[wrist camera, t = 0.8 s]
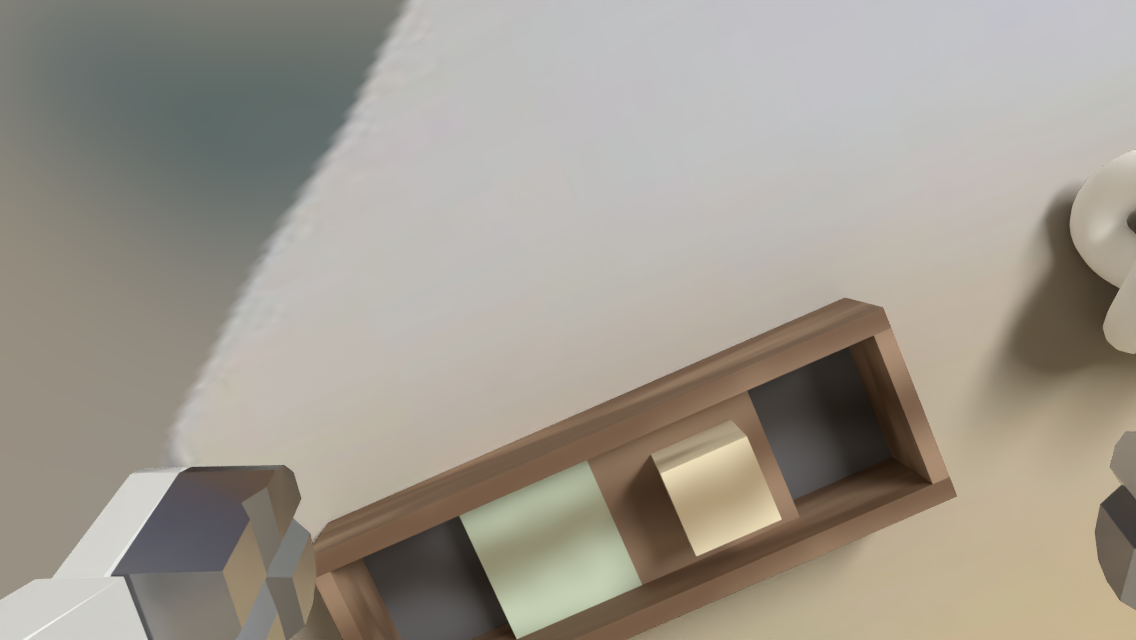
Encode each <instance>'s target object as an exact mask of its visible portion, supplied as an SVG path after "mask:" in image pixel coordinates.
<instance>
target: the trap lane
mask: <svg viewBox="0 0 1136 640" xmlns="http://www.w3.org/2000/svg"><path fill="white" fill-rule="evenodd" d="M728 420H732V421H733V422H734V423H735V424H736V425H737V426H738V428H739V429H740V430H741V431H742V432H743V433H744V434H745V435H746V436H747V438H748V440H749V442H750V445H751V447H752V450H753V452H754V454H755V457H756V459H757V461H758V464H759V466H760V469H761V471H762V473H763V476H764V478H765V481H766V483H767V485H768V488H769V490H770V492H771V495H772V497H773V500H774V502H775V504H776V507H777V509H778V511H779V514H780V516H781V519H782V520H780V521H777V522H775V523H773V524H770V525H768V526H766V527H764V528H761V529H759V530H757V531H754V532H752V533H750V534H747V535H745V536H743V537H740V538H738V539H736V540H733V541H731V542H729V543H727V544H724V545H722V546H720V547H717V548H715V549H713V550H710V551H708V552H706V553H703V554H701V555H699V556H696V555H695V553H694V551H693V548H692V546H691V544H690V542H689V540H688V538H687V536H686V534H685V532H684V529H683V527H682V525H681V523H680V520H679V518H678V516H677V513H676V511H675V509H674V506H673V504H672V502H671V500H670V497H669V495H668V493H667V490H666V488H665V486H664V483H663V481H662V479H661V477H660V474H659V472H658V470H657V467H656V465H655V463H654V460H653V458H652V456H651V454H652V453H655V452H657V451H659V450H662V449H664V448H666V447H669V446H671V445H673V444H676V443H678V442H680V441H682V440H685V439H687V438H689V437H692V436H694V435H696V434H699V433H701V432H703V431H705V430H708V429H710V428H712V427H715V426H717V425H719V424H722V423H724V422H726V421H728ZM954 497H957V494H956V492H955V489H954V487H953V484H952V482H951V479H950V477H949V474H948V472H947V469H946V466H945V464H944V461H943V459H942V456H941V454H940V451H939V449H938V446H937V444H936V441H935V438H934V436H933V433H932V431H931V428H930V426H929V423H928V421H927V418H926V416H925V413H924V410H923V408H922V405H921V403H920V400H919V398H918V395H917V393H916V390H915V388H914V385H913V382H912V380H911V377H910V375H909V372H908V370H907V367H906V365H905V362H904V360H903V357H902V354H901V352H900V349H899V347H898V344H897V342H896V339H895V337H894V334H893V332H892V329H891V326H890V324H889V321H888V319H887V316H886V314H885V311H884V309H883V307H879V306H875V305H871V304H867V303H864V302H860V301H856V300H852V299H848V298H843V299H841V300H839V301H836V302H834V303H832V304H830V305H827V306H825V307H823V308H820V309H818V310H816V311H813V312H811V313H809V314H807V315H804V316H802V317H800V318H797V319H795V320H793V321H790V322H788V323H786V324H784V325H781V326H779V327H777V328H774V329H772V330H770V331H767V332H765V333H763V334H761V335H758V336H756V337H754V338H751V339H749V340H747V341H745V342H742V343H740V344H738V345H735V346H733V347H731V348H728V349H726V350H724V351H722V352H719V353H717V354H715V355H712V356H710V357H708V358H705V359H703V360H701V361H699V362H696V363H694V364H692V365H689V366H687V367H685V368H682V369H680V370H678V371H676V372H673V373H671V374H669V375H666V376H664V377H662V378H660V379H657V380H655V381H653V382H650V383H648V384H646V385H643V386H641V387H639V388H637V389H634V390H632V391H630V392H627V393H625V394H623V395H620V396H618V397H616V398H614V399H611V400H609V401H607V402H604V403H602V404H600V405H597V406H595V407H593V408H591V409H588V410H586V411H584V412H581V413H579V414H577V415H574V416H572V417H570V418H568V419H565V420H563V421H561V422H558V423H556V424H554V425H552V426H549V427H547V428H545V429H542V430H540V431H538V432H535V433H533V434H531V435H529V436H526V437H524V438H522V439H519V440H517V441H515V442H512V443H510V444H508V445H506V446H503V447H501V448H499V449H496V450H494V451H492V452H489V453H487V454H485V455H483V456H480V457H478V458H476V459H473V460H471V461H469V462H467V463H464V464H462V465H460V466H457V467H455V468H453V469H450V470H448V471H446V472H444V473H441V474H439V475H437V476H434V477H432V478H430V479H427V480H425V481H423V482H421V483H418V484H416V485H414V486H411V487H409V488H407V489H404V490H402V491H400V492H398V493H395V494H393V495H391V496H388V497H386V498H384V499H381V500H379V501H377V502H375V503H372V504H370V505H368V506H365V507H363V508H361V509H359V510H356V511H354V512H352V513H349V514H347V515H345V516H342V517H340V518H338V519H336V520H333V521H331V522H329V523H328V524H327V526H326V527H325V529H324V530H323V532H322V533H321V534H320V536H319V537H318V539H317V540H316V542H315V543H314V545H313V547H314V551H315V561H316V574H317V575H316V583H315V584H316V586H317V588H318V590H319V592H320V594H321V596H322V598H323V600H324V602H325V604H326V606H327V608H328V610H329V612H330V614H331V616H332V618H333V620H334V622H335V624H336V626H337V629H338V631H339V633H340V635H341V637H342V639H343V640H626V639H628V638H630V637H633V636H635V635H637V634H640V633H642V632H644V631H646V630H649V629H651V628H653V627H656V626H658V625H660V624H663V623H665V622H667V621H670V620H672V619H674V618H677V617H679V616H681V615H684V614H686V613H688V612H690V611H693V610H695V609H697V608H700V607H702V606H704V605H707V604H709V603H711V602H714V601H716V600H718V599H721V598H723V597H725V596H728V595H730V594H732V593H734V592H737V591H739V590H741V589H744V588H746V587H748V586H751V585H753V584H755V583H758V582H760V581H762V580H765V579H767V578H769V577H772V576H774V575H776V574H778V573H781V572H783V571H785V570H788V569H790V568H792V567H795V566H797V565H799V564H802V563H804V562H806V561H809V560H811V559H813V558H816V557H818V556H820V555H822V554H825V553H827V552H829V551H832V550H834V549H836V548H839V547H841V546H843V545H846V544H848V543H850V542H853V541H855V540H857V539H860V538H862V537H864V536H866V535H869V534H871V533H873V532H876V531H878V530H880V529H883V528H885V527H887V526H890V525H892V524H894V523H897V522H899V521H901V520H904V519H906V518H908V517H910V516H913V515H915V514H917V513H920V512H922V511H924V510H927V509H929V508H931V507H934V506H936V505H938V504H941V503H943V502H945V501H948V500H950V499H952V498H954Z"/></svg>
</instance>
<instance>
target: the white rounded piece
mask: <svg viewBox="0 0 1136 640" xmlns="http://www.w3.org/2000/svg"><path fill="white" fill-rule="evenodd" d="M1135 209H1136V150H1133V151H1130V152H1128V153H1125V154H1123V155H1120V156H1119V157H1117V158H1115V159H1114V160H1112V161H1110V162H1108V163H1107V164H1105V165H1103V166H1102V167H1101V168H1100V169H1099V170H1098V171H1096V172H1095V173H1094V174H1093V175H1092V176H1091V177H1089V178H1088V180H1087V181H1086V182H1085V184H1084V185H1083V186H1082V188H1081V189H1080V190H1079V192H1078V194H1077V196H1076V199H1075V201H1074V203H1073V206H1072V210H1071V217H1070V231H1071V237H1072V240H1073V242H1074V245H1075V247H1076V249H1077V250H1078V252H1079V254H1080V255H1081V257H1082V258H1083V260H1084V261H1085V262H1086V264H1087V265H1088V266H1089V267H1090V268H1091V269H1092V270H1093V271H1094V272H1095V273H1096V274H1098V275H1099V276H1100V277H1102V278H1103V279H1104V280H1106V281H1108V282H1109V283H1111V284H1113V285H1114V286H1116V287H1118V288H1120V290H1119V291H1118V293H1117V295H1116V297H1115V299H1114V300H1113V302H1112V304H1111V306H1110V308H1109V310H1108V312H1107V315H1106V318H1105V321H1104V324H1103V330H1104V334H1105V337H1106V340H1107V341H1108V342H1109V343H1110V344H1111V345H1112V346H1113V347H1114V348H1116V349H1117V350H1119V351H1123V352H1127V353H1131V354H1135V353H1136V234H1135V233H1134V232H1133V231H1132V230H1131V229H1130V228H1129V227H1128V225H1127V219H1128V217H1129V215H1130V214H1131V213H1132V211H1133V210H1135Z"/></svg>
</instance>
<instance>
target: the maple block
mask: <svg viewBox="0 0 1136 640" xmlns="http://www.w3.org/2000/svg"><path fill="white" fill-rule="evenodd" d="M651 456H652V458H653V460H654V463H655V465H656V467H657V470H658V472H659V474H660V477H661V479H662V481H663V483H664V486H665V488H666V490H667V493H668V495H669V497H670V500H671V502H672V504H673V506H674V509H675V511H676V513H677V516H678V518H679V520H680V523H681V525H682V527H683V529H684V532H685V534H686V536H687V538H688V540H689V542H690V544H691V546H692V548H693V551H694V553H695V555H696V556H699V555H701V554H703V553H706V552H708V551H710V550H713V549H715V548H717V547H720V546H722V545H724V544H727V543H729V542H731V541H733V540H736V539H738V538H740V537H743V536H745V535H747V534H750V533H752V532H754V531H757V530H759V529H761V528H764V527H766V526H768V525H770V524H773V523H775V522H777V521H780V520H782V519H781V516H780V514H779V511H778V509H777V507H776V504H775V502H774V500H773V497H772V495H771V492H770V490H769V488H768V485H767V483H766V481H765V478H764V476H763V473H762V471H761V469H760V466H759V464H758V461H757V459H756V457H755V454H754V452H753V450H752V447H751V445H750V442H749V440H748V438H747V436H746V435H745V434H744V433H743V432H742V431H741V430H740V429H739V428H738V426H737V425H736V424H735V423H734V422H733V421H732V420H728V421H726V422H724V423H722V424H719V425H717V426H715V427H712V428H710V429H708V430H705V431H703V432H701V433H699V434H696V435H694V436H692V437H689V438H687V439H685V440H682V441H680V442H678V443H676V444H673V445H671V446H669V447H666V448H664V449H662V450H659V451H657V452H655V453H652V454H651Z"/></svg>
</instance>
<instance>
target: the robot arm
mask: <svg viewBox="0 0 1136 640" xmlns="http://www.w3.org/2000/svg"><path fill="white" fill-rule="evenodd" d="M1110 468H1111V470H1112V471H1113V473H1114V474H1115V476H1116V477H1117V479H1118V480H1119V482H1120V483H1121V486H1120V487H1118V488H1117V489H1116V490H1115V491H1114V492H1113V493H1112V494H1111V495H1110V496H1109V497H1108V498H1106V499H1105V500H1104V501H1103V502H1102V503H1101V504H1100V508H1099V513H1098V518H1097V523H1096V529H1095V537H1096V545H1097V553H1098V560H1099V563H1100V565H1101V568H1102V570H1103V573H1104V575H1105V578H1106V580H1107V582H1108V583H1109V585H1110V586H1111V588H1112V589H1113V591H1114V592H1115V594H1116V595H1117V597H1118V598H1119V600H1120V601H1121V602H1123V603H1125V604H1126V605H1128V606H1130V607H1132V608H1133V609H1135V610H1136V431H1127V432H1125V433H1124V434H1123V436H1122V437H1121V438H1120V440H1119V441H1118V442H1117V444H1116V445H1115V449H1114V452H1113V456H1112V460H1111V464H1110ZM300 500H301V496H300V492H299V489H298V486H297V482H296V479H295V476H294V472H293V471H291V470H290V469H289V468H287V467H286V466H285V465H262V466H211V467H190V468H185V467H174V468H150V469H142V470H139V471H137V472H134V473H131V474H130V475H129V477H128V478H127V479H126V481H125V482H124V483H123V485H122V486H121V487H120V489H119V490H118V491H117V493H116V494H115V495H114V496H113V498H112V499H111V500H110V502H109V503H108V504H107V506H106V507H105V508H104V510H103V511H102V512H101V514H100V515H99V516H98V518H97V519H96V520H95V522H94V523H93V524H92V526H91V527H90V528H89V530H88V531H87V532H86V534H85V535H84V536H83V537H82V539H81V541H79V543H78V544H77V545H76V547H75V548H74V549H73V551H72V552H71V553H70V555H69V556H68V557H67V559H66V560H65V561H64V563H63V564H62V566H61V567H60V568H59V569H58V571H57V572H56V573H55V575H54V576H53V577H52V579H36V580H34V581H32V582H30V583H29V584H27V585H25V586H23V587H22V588H20V589H18V590H17V591H15V592H13V593H12V594H10V595H8V596H6V597H5V598H3V599H1V600H0V640H289V639H290V638H291V637H292V636H294V635H295V634H296V633H297V632H298V631H300V630H301V629H302V628H303V627H304V626H305V625H306V622H307V619H308V616H309V613H310V610H311V608H312V605H313V599H314V591H315V583H316V575H317V574H316V561H315V551H314V547H313V543H312V539H311V534H310V533H309V532H308V531H307V530H306V529H305V528H304V527H302V526H301V525H300V524H299V523H298V522H297V521H296V520H294V519H293V516H294V514H295V512H296V509H297V507H298V505H299V503H300Z"/></svg>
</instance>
